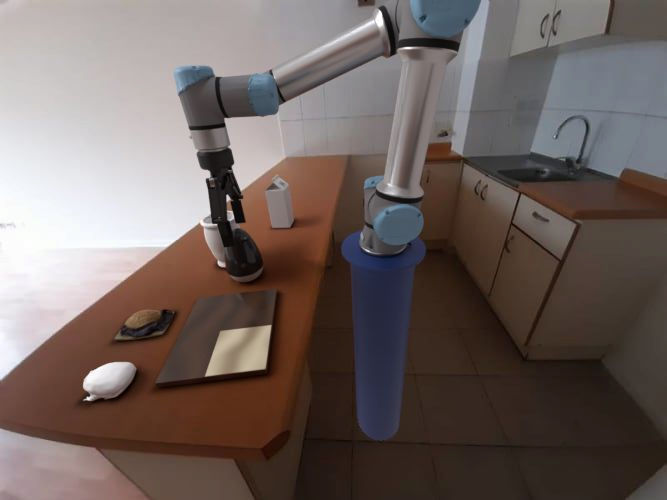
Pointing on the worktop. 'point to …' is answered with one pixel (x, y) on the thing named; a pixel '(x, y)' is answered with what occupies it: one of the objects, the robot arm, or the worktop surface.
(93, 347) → the worktop surface
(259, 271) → the black egg-shaped ornament
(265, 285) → the worktop surface
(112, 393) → the garlic
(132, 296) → the worktop surface
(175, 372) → the cutting board
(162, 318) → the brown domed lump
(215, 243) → the jar
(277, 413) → the worktop surface
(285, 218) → the milk carton
